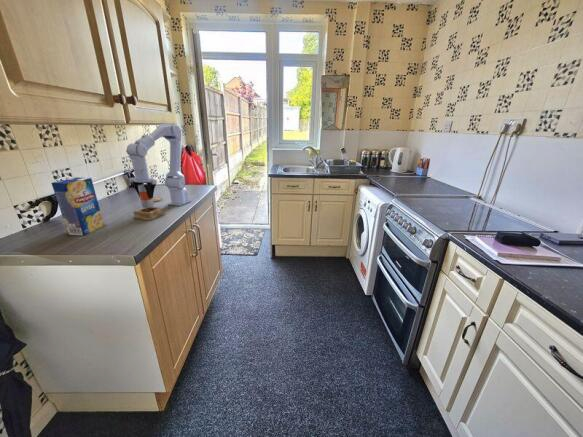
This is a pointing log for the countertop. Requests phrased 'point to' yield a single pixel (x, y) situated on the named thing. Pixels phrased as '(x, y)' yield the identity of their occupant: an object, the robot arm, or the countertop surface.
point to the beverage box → (78, 205)
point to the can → (145, 197)
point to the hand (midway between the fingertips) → (146, 197)
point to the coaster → (156, 199)
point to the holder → (148, 213)
